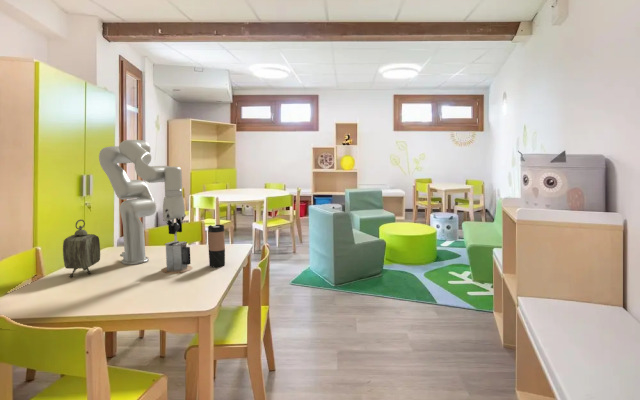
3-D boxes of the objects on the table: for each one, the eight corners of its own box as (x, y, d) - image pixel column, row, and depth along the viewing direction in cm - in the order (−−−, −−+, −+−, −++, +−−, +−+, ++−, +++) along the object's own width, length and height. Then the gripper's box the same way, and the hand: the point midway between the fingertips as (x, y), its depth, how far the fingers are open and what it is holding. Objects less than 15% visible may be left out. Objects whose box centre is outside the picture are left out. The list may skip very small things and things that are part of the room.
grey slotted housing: (162, 270, 191) (161, 243, 189) (175, 265, 199) (174, 240, 197) (183, 273, 187) (182, 246, 185) (195, 268, 195) (194, 242, 193)
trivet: (154, 272, 189) (154, 271, 189) (175, 265, 202) (175, 263, 202) (179, 276, 184) (179, 274, 184) (198, 267, 197) (198, 266, 197)
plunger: (166, 255, 191) (165, 223, 189) (175, 252, 196) (174, 221, 195) (177, 257, 189) (175, 224, 187) (185, 253, 194) (184, 221, 192)
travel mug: (221, 269, 195) (220, 227, 193) (206, 268, 197) (204, 227, 194) (228, 265, 203) (226, 224, 200) (213, 264, 204) (212, 224, 202)
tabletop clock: (83, 269, 195) (79, 217, 192) (102, 269, 195) (99, 217, 192) (64, 278, 180) (60, 222, 177) (85, 278, 180) (81, 222, 178)
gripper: (179, 191, 198) (180, 229, 200) (154, 195, 183) (155, 235, 185) (192, 192, 196) (193, 230, 198) (167, 195, 180) (169, 237, 182)
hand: (175, 232), depth 191 cm, fingers closed on plunger, 4 cm apart
